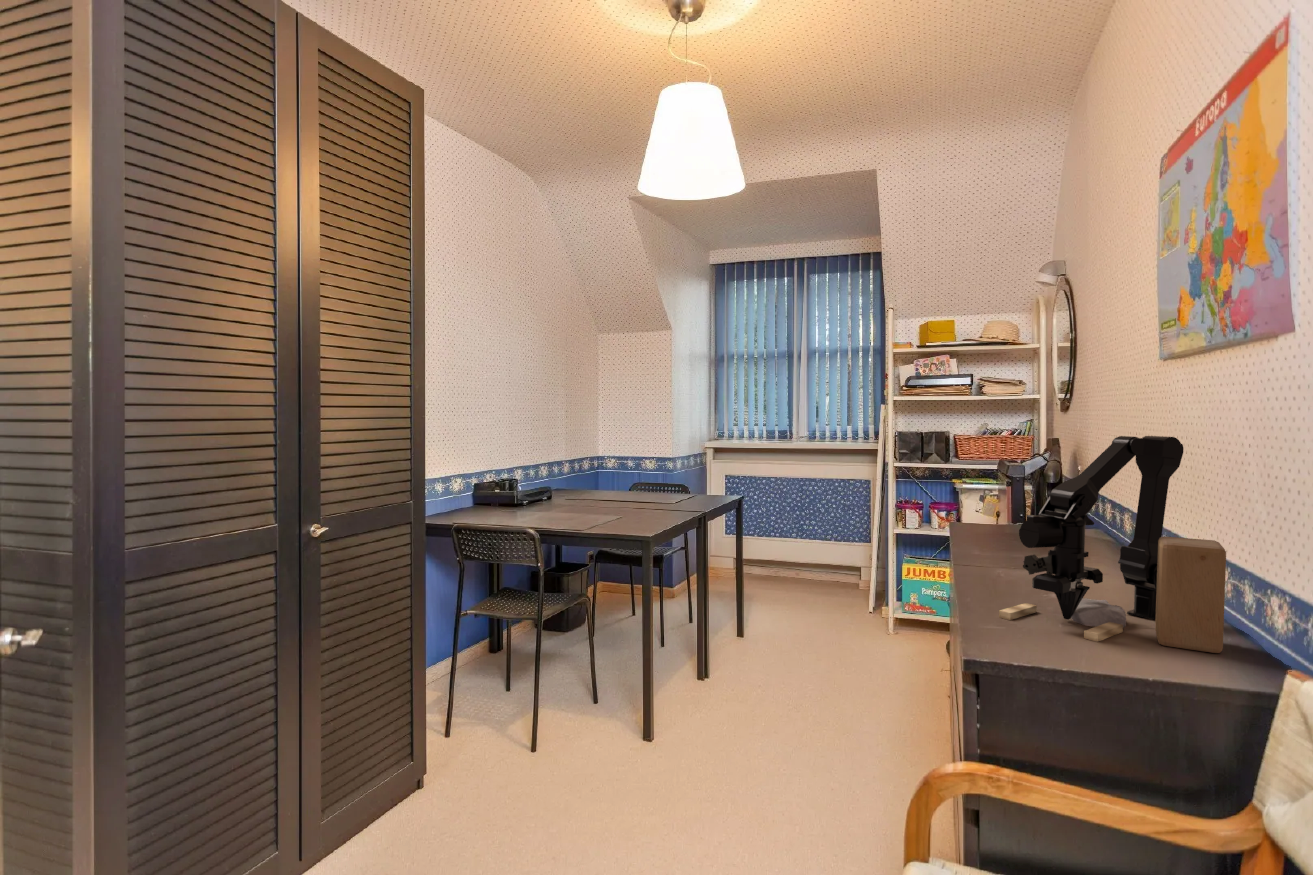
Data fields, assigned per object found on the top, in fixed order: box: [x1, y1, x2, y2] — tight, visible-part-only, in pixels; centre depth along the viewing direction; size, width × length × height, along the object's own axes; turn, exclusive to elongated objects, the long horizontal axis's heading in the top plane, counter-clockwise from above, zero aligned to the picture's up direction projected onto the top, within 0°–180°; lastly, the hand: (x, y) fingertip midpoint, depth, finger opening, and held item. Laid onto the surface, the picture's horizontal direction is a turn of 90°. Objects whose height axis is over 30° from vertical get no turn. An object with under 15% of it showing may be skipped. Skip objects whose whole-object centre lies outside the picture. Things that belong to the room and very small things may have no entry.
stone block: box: [1071, 597, 1127, 628], centre depth 157 cm, size 12×5×10 cm
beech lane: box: [998, 602, 1124, 643], centre depth 153 cm, size 11×20×2 cm, turn 35°
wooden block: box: [1154, 536, 1227, 654], centre depth 140 cm, size 10×10×20 cm
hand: (1067, 618), depth 155 cm, fingers closed
